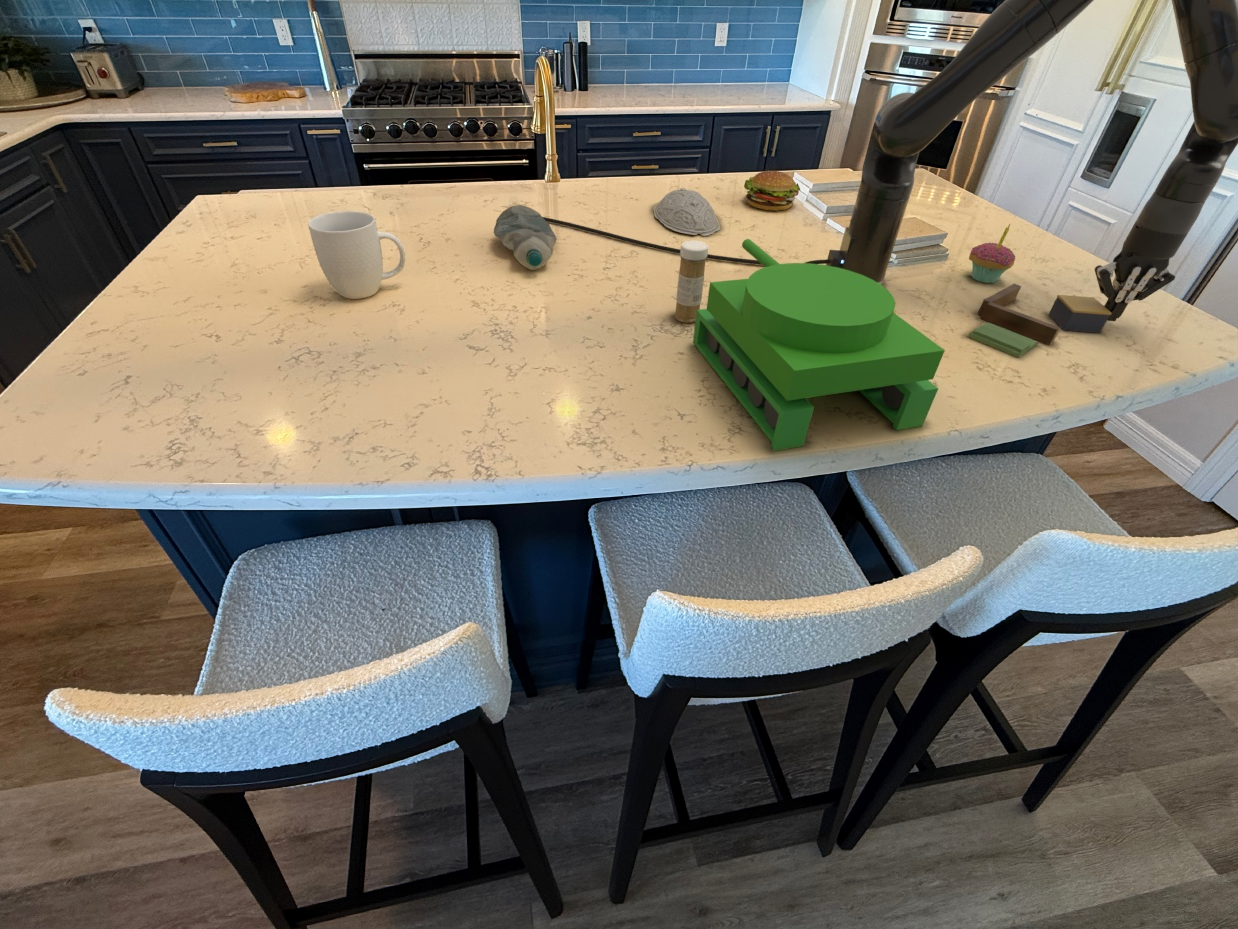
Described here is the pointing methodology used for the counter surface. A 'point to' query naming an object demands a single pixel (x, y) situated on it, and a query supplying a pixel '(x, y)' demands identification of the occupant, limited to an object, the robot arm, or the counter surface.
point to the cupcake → (991, 260)
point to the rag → (1002, 339)
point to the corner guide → (1015, 317)
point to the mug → (352, 252)
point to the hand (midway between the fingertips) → (1107, 319)
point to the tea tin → (1079, 313)
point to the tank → (813, 346)
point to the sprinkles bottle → (690, 280)
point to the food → (771, 190)
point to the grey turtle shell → (687, 213)
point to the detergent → (526, 235)
